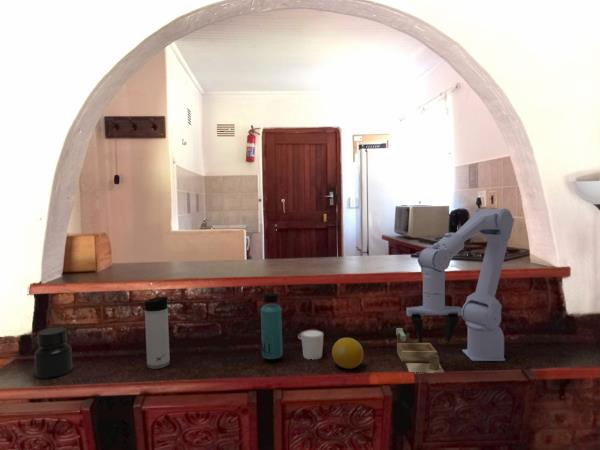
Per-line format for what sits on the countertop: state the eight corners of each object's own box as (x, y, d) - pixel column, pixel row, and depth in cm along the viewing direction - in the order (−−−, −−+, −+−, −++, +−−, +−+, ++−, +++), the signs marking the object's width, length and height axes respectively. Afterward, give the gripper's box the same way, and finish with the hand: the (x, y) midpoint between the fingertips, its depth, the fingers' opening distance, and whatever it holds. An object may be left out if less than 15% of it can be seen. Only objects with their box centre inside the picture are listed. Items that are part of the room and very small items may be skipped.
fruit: (365, 362, 115) (364, 335, 115) (361, 374, 108) (361, 345, 107) (335, 359, 118) (334, 333, 117) (329, 371, 110) (329, 342, 109)
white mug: (324, 360, 117) (324, 337, 117) (301, 360, 118) (300, 337, 117) (323, 351, 124) (323, 329, 124) (301, 351, 124) (301, 329, 124)
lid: (439, 365, 113) (439, 351, 113) (445, 375, 107) (445, 360, 106) (405, 365, 114) (405, 351, 114) (409, 374, 108) (409, 360, 108)
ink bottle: (78, 364, 118) (75, 324, 117) (69, 376, 109) (66, 334, 109) (40, 368, 115) (38, 327, 115) (28, 381, 107) (26, 337, 106)
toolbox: (429, 351, 123) (429, 333, 122) (437, 361, 115) (437, 342, 114) (396, 351, 123) (396, 333, 122) (402, 362, 115) (402, 342, 115)
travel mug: (163, 369, 113) (160, 300, 111) (142, 368, 114) (139, 299, 113) (174, 361, 119) (172, 295, 118) (154, 359, 120) (152, 294, 119)
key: (402, 334, 128) (402, 328, 128) (407, 341, 122) (407, 335, 121) (396, 334, 128) (396, 328, 128) (400, 341, 122) (400, 335, 122)
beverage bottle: (284, 355, 121) (283, 291, 120) (281, 364, 115) (280, 296, 113) (263, 355, 122) (262, 291, 121) (259, 364, 115) (257, 296, 114)
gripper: (455, 288, 112) (455, 335, 113) (403, 289, 113) (404, 336, 114) (464, 294, 105) (464, 344, 106) (409, 295, 106) (410, 345, 107)
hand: (433, 340), depth 109 cm, fingers open, 7 cm apart
